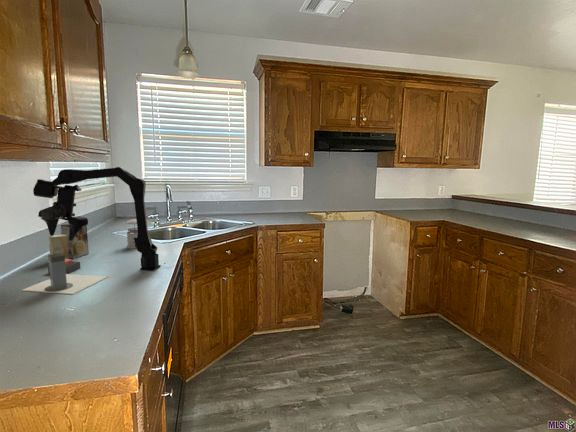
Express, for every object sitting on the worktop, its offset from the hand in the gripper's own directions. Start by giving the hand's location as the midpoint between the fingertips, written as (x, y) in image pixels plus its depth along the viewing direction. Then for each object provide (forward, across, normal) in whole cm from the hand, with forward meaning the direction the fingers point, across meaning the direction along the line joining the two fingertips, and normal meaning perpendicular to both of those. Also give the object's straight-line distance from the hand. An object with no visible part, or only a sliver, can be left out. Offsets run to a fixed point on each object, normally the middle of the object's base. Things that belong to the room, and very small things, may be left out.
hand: (61, 238), depth 132 cm
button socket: (+15, -1, +5) cm, 16 cm away
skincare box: (+16, -15, +16) cm, 27 cm away
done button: (+14, -1, +5) cm, 14 cm away
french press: (+11, -2, +51) cm, 52 cm away
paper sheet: (+14, +13, -8) cm, 21 cm away
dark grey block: (+14, +14, -12) cm, 23 cm away
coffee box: (+16, -16, +26) cm, 34 cm away
